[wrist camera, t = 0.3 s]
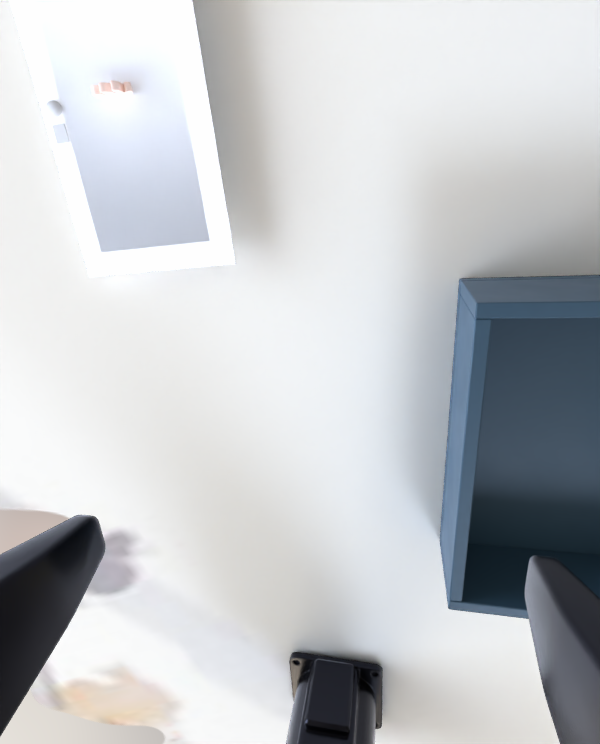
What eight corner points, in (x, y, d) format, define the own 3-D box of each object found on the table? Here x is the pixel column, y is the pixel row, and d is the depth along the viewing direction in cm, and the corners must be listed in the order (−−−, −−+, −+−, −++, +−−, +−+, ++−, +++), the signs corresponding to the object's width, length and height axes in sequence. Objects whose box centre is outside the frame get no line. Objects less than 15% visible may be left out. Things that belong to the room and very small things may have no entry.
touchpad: (176, -161, 16) (145, -209, 14) (243, 260, 21) (227, 267, 20) (-2, -103, 18) (-52, -138, 16) (102, 273, 23) (75, 281, 21)
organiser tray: (660, 561, 23) (717, 642, 19) (439, 540, 26) (448, 609, 21) (754, 271, 18) (865, 297, 13) (459, 278, 20) (476, 302, 16)
